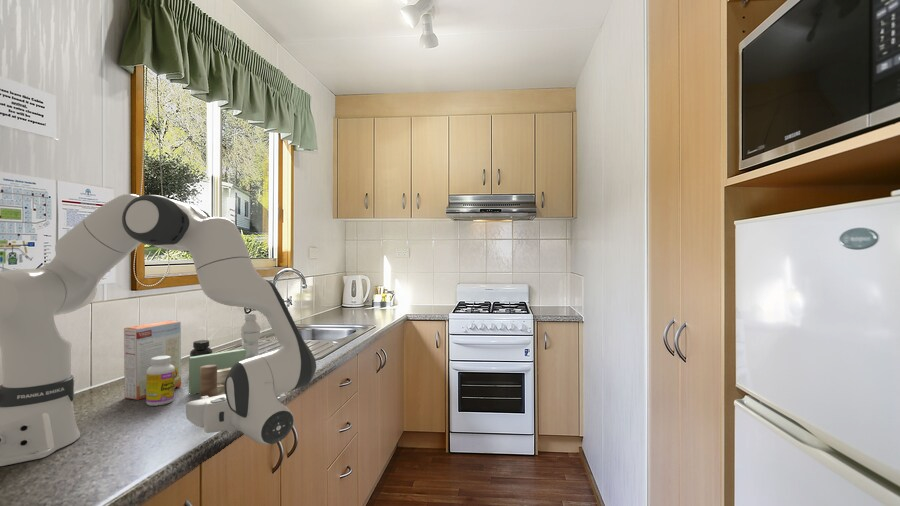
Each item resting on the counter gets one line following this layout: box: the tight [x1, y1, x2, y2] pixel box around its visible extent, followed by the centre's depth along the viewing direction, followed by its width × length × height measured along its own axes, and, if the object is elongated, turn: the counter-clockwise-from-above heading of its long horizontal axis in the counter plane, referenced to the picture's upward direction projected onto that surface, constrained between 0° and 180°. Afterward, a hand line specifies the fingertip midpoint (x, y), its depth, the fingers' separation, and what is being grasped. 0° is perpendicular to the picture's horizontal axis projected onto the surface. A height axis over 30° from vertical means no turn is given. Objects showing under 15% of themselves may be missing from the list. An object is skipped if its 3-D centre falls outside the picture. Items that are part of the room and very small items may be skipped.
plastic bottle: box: [240, 313, 261, 359], centre depth 157 cm, size 6×7×20 cm
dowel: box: [199, 365, 217, 398], centre depth 116 cm, size 4×4×12 cm
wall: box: [188, 348, 246, 395], centre depth 135 cm, size 16×2×11 cm, turn 137°
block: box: [217, 367, 232, 396], centre depth 129 cm, size 9×7×7 cm
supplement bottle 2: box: [189, 339, 213, 357], centre depth 149 cm, size 7×7×12 cm
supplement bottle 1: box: [145, 356, 175, 407], centre depth 122 cm, size 7×7×13 cm
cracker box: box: [123, 320, 182, 401], centre depth 131 cm, size 14×6×21 cm, turn 161°
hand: (224, 394), depth 108 cm, fingers open, 8 cm apart
